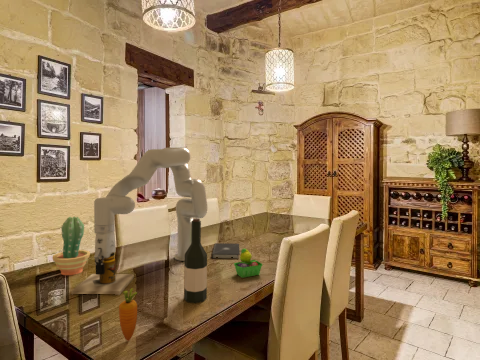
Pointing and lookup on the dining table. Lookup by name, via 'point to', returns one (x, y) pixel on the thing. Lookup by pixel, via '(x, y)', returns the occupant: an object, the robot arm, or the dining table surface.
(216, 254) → the book
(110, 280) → the condiment
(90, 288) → the board
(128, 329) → the carrot
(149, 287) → the dining table surface
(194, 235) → the wine bottle
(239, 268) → the fruit basket
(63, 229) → the potted cactus
